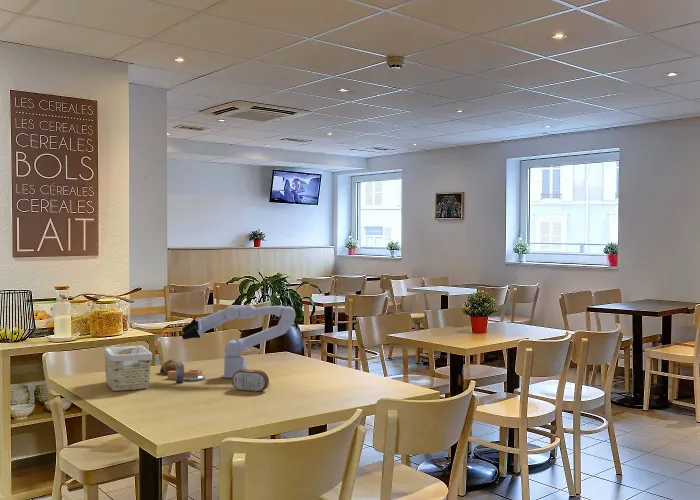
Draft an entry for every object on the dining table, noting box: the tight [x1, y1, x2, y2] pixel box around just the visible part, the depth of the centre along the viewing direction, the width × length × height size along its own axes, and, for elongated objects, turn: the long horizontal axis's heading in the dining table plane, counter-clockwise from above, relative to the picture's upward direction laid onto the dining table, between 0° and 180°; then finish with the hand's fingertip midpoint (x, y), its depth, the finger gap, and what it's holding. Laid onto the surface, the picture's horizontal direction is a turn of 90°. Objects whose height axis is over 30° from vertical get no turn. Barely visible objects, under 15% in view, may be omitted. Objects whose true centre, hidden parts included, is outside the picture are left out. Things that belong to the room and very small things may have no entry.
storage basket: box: [103, 345, 153, 392], centre depth 271 cm, size 24×16×15 cm
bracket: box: [167, 369, 203, 380], centre depth 285 cm, size 14×6×3 cm, turn 84°
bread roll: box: [159, 358, 185, 376], centre depth 298 cm, size 10×10×8 cm
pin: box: [175, 364, 185, 384], centre depth 277 cm, size 3×3×7 cm
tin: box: [231, 368, 270, 393], centre depth 263 cm, size 15×3×8 cm, turn 74°
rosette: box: [184, 374, 206, 382], centre depth 285 cm, size 10×10×1 cm
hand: (182, 334), depth 289 cm, fingers open, 7 cm apart
